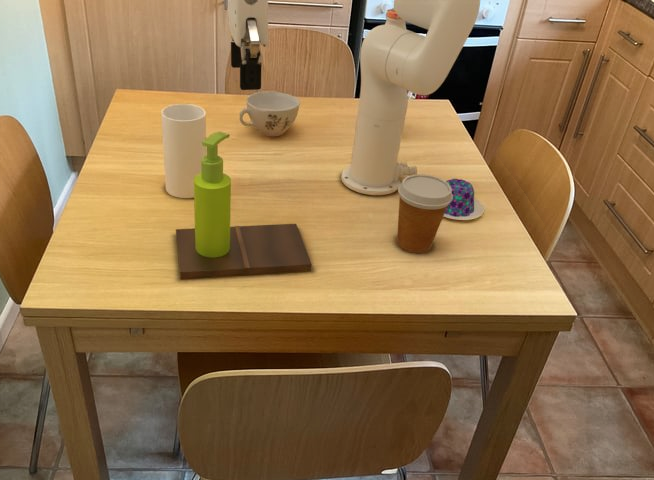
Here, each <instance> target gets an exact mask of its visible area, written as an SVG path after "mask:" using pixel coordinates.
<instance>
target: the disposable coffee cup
mask: <svg viewBox="0 0 654 480" xmlns="http://www.w3.org/2000/svg"><path fill="white" fill-rule="evenodd" d="M446 181H447V180H444V179H442V178H440V177H437V176H434V175H430V174H421V173H419V174H418V173H417V174H416V175H410V176H408V175H406V177H404V178H403V179H402V180H401V183H400V185H399V187H398V190H397V192H398V195H399V198H398V199H399V201H398V218H397V219H398V220H397V230H396V231H397V232H396V243H397V245H398V247H400V248H401V249H402V250H405V251H406V252H409V253H414V254H422V253H426V252H428V251H430V249H431V248H432V245H433V243H434V241H435V238H436V235H437V233H438V231H439V228H440V226H441V223H442V221H443V218H444V213H445V211H446V208H447V206H448V205H449V203H450V202H451V201H452V199H453V194H452V189H451V186H450V185H449V184H448V183H447V182H446Z"/></svg>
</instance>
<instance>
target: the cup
mask: <svg viewBox="0 0 654 480" xmlns="http://www.w3.org/2000/svg"><path fill="white" fill-rule="evenodd" d="M160 114H161V115H160V116H161V131H162V132H161V133H162V150H163V167H164V179H165V180H164V183H165V191H166V193H167V194H169V195H170V196H172V197H175V198H180V199H194V177H195V176H196V175H198V174H200V173H202V170H201V159H202V158H203V157H204V156H206V155H207V147H206V146H202V142H203V141H204V140H205V139H206V138H207V114H206V110H205V109H204V108H203V107H201V106H199V105H197V104H191V103H189V104H188V103H175V104H170V105H168V106H167V105H166V106H165V107H163V108H162V109H161V112H160Z"/></svg>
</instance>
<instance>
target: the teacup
mask: <svg viewBox="0 0 654 480" xmlns="http://www.w3.org/2000/svg"><path fill="white" fill-rule="evenodd" d="M300 104H301V99H299V98H298V97H297V96H294V95H292V94H289V93H285V92H280V91H272V90H265V91H258V92H254V93H252V94H250V95H248V96H247V97H246V107H245V108H241V110H240V112H239V118H238V119H239V122H240V123H241V125H242V126H244V127H250V128H255V129H257V130H258V131H259V132H260V134H262V135H264V136H267V137H280V136H283V135H284V134H285V132H286V131H288V130H289V129H290V128H291V127H292V125H293V124H294V122H295V121H296V119H297V117H298V113H299V109H300V106H301V105H300ZM245 114H247V115H248V117H249V119H250V121H251V123H248V122H246V121H245V120H243V117H244V115H245Z"/></svg>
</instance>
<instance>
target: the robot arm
mask: <svg viewBox="0 0 654 480" xmlns="http://www.w3.org/2000/svg"><path fill="white" fill-rule="evenodd" d="M480 7H481V0H393V9H394V10H395V12H396V14H397V15H398V16H399V17H400V18H401V19H403V20H405V21H406V23H409V24H411V25H414V26H417V27H419V28H422V29H425V30H427V33H426V35H425V36H424V35H421V34H419V33H417V32H414V31H412V30H409V29H407V28H406V29H404V28H401V27H398V26H394V25H385V24H380V25H377V26H375V27H373V28H372V29H370V31H368V32H367V34H366V35H365V37H364V38H363V40H362V42H361V43H362V44H361V46H360V52H359V53H360V54H359V60H360V61H359V63H360V91H359V92H360V93H359V101H358V109H357V115H356V116H357V117H356V123H355V128H354V136H353V142H352V151H351V157H350V165H349V166H347V167H345V168H344V169H343V170H342V171H341V177H340V179H341V182H342V183H343V185H344V186H346V187H347V188H348V189H350V190H352V191H354V192H356V193H359V194H363V195H368V196H385V195H390V194H392V193H395V192H397V191H398V187H399V185H400V184H401V183H402V180H401V178H403V176H410V175H416V174H418V167H417V166H414V165H413V166H411V165H410V166H409V165H408V162H407V161H406V162H398V159H399V155H400V148H401V143H402V137H403V134H404V133H403V131H404V128H405V122H406V117H407V111H408V104H409V103H408V101H409V100H408V92H410V93H412V94H415V95H419V96H428V95H432V94H433V93H435V92H436V91H437V90H438V89H439V88H440V87H441V86H442V84H443V83H444V82H445V80H446V78H447V77H448V75H449V73H450V71H451V69H452V68H453V66H454V64H455V62H456V60H457V59H458V57H459V55H460V53H461V51H462V49H463V48H464V45H465V44H466V42H467V40H468V38H469V37H470V36H469V35H470V34H471V32H472V30H473V28H474V26H475V25H476V22H477V19H478V16H479V13H480ZM227 18H228V19H227V20H228V29H229V32H230V35H231V36H230V37H231V41H230V65H231V66H230V67H231V68H232V69H233V68H234V69H239V88H240V90H241V91H255V90H256V91H257V90H261V89H262V64H263V63H262V54H261V46H262V47H263V48H266V47H268V45H269V0H227Z"/></svg>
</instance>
